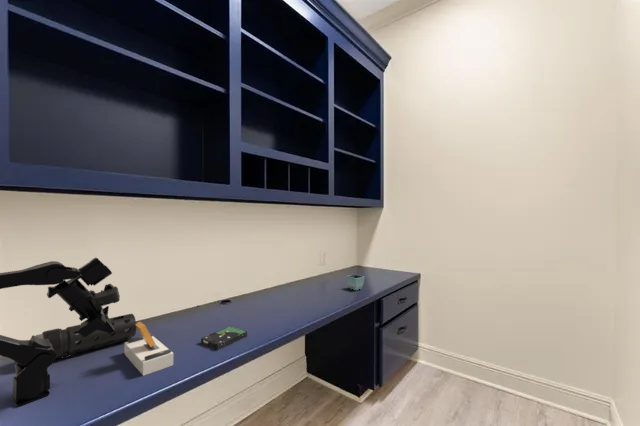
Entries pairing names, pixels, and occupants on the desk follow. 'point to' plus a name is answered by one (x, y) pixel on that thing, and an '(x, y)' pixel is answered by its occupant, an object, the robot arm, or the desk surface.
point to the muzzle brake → (89, 336)
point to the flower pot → (355, 281)
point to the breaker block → (148, 355)
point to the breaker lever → (145, 334)
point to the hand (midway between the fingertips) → (113, 331)
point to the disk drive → (223, 337)
